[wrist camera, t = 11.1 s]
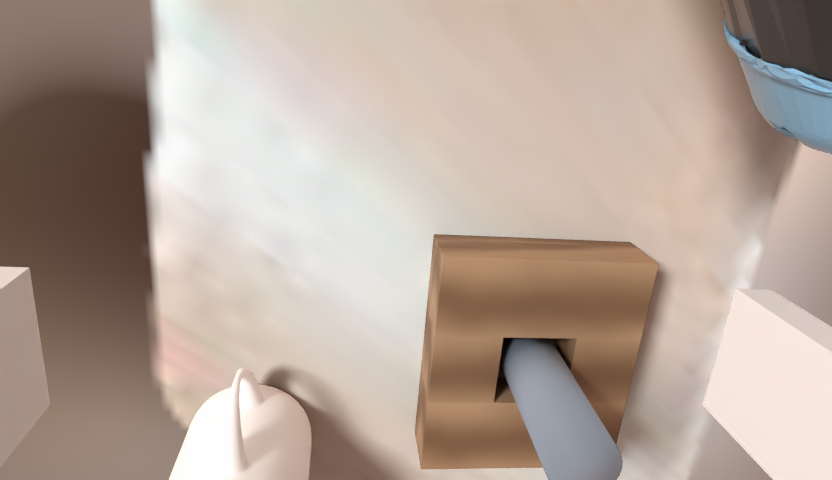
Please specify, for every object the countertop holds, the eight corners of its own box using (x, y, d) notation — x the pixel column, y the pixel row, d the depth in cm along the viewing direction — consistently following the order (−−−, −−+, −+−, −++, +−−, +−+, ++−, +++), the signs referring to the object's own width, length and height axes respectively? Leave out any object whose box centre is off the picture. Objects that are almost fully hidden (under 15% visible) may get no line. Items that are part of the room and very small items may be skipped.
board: (434, 234, 39) (443, 256, 35) (630, 242, 41) (658, 263, 37) (414, 431, 44) (421, 469, 41) (589, 431, 46) (610, 466, 42)
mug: (315, 337, 41) (304, 438, 31) (311, 475, 45) (301, 604, 35) (186, 335, 40) (132, 439, 30) (195, 477, 44) (150, 611, 34)
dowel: (499, 323, 41) (554, 437, 29) (554, 324, 41) (629, 437, 30) (492, 372, 42) (542, 499, 31) (545, 373, 42) (614, 498, 31)
